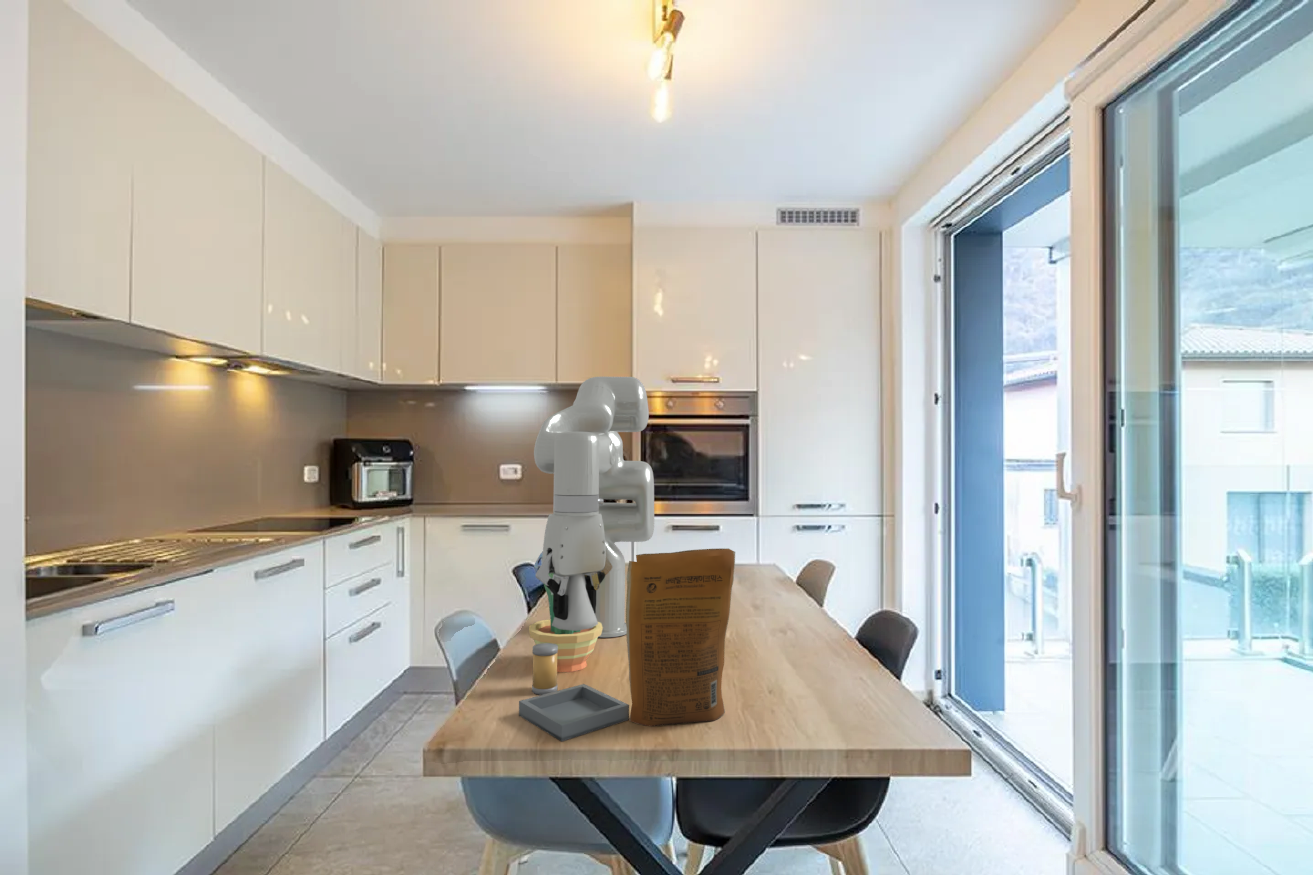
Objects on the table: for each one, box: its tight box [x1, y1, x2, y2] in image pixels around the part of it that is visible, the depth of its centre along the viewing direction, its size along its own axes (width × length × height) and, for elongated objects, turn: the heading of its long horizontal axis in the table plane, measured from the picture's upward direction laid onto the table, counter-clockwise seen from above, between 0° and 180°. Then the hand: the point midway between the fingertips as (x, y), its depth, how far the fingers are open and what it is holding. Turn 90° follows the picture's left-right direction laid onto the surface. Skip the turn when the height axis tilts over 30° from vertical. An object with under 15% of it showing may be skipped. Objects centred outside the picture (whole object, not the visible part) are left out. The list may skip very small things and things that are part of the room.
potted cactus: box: [528, 550, 603, 673], centre depth 136 cm, size 15×15×25 cm
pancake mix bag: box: [625, 548, 736, 727], centre depth 108 cm, size 7×19×28 cm, turn 104°
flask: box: [552, 574, 598, 631], centre depth 109 cm, size 7×7×10 cm
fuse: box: [531, 643, 558, 696], centre depth 121 cm, size 5×5×8 cm
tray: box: [518, 683, 630, 743], centre depth 108 cm, size 13×13×2 cm
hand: (574, 614), depth 109 cm, fingers closed on flask, 4 cm apart
